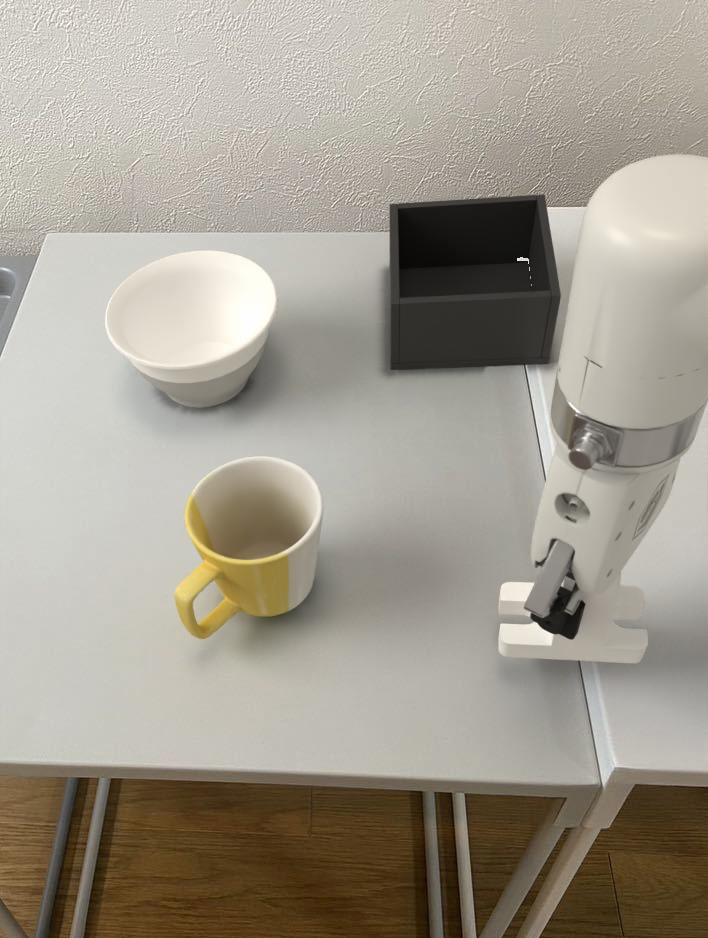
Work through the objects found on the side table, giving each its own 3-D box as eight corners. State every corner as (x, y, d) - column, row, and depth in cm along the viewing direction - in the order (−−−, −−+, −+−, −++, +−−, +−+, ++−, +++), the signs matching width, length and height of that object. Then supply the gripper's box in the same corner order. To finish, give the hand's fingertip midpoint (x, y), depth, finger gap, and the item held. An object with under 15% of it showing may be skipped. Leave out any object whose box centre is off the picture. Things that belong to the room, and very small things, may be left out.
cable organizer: (643, 663, 66) (675, 585, 57) (498, 656, 67) (509, 579, 59) (637, 600, 68) (668, 516, 60) (498, 595, 70) (509, 513, 62)
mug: (279, 516, 81) (266, 433, 72) (356, 590, 76) (352, 509, 67) (150, 604, 77) (119, 528, 68) (221, 687, 72) (198, 616, 63)
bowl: (231, 299, 97) (219, 227, 90) (318, 383, 89) (312, 311, 82) (98, 368, 94) (74, 299, 87) (176, 461, 86) (157, 394, 78)
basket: (534, 263, 95) (544, 193, 88) (548, 363, 87) (561, 295, 80) (389, 271, 97) (389, 203, 90) (390, 370, 89) (390, 304, 82)
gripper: (616, 545, 44) (567, 712, 59) (766, 326, 50) (687, 527, 65) (477, 482, 48) (464, 656, 62) (634, 284, 54) (588, 485, 69)
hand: (578, 589), depth 64 cm, fingers closed on cable organizer, 6 cm apart
